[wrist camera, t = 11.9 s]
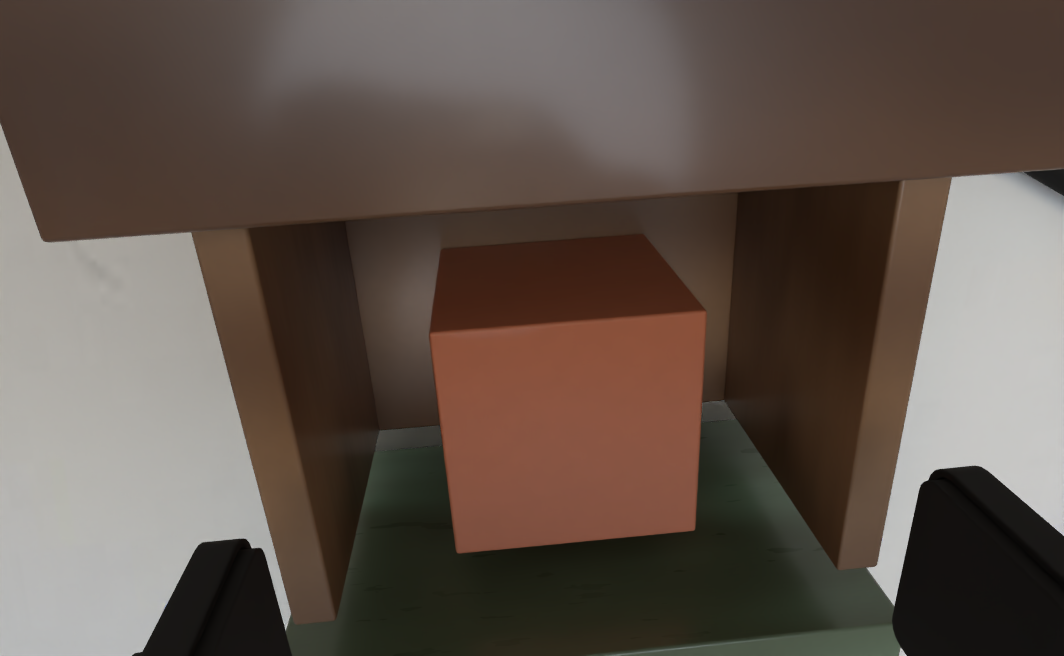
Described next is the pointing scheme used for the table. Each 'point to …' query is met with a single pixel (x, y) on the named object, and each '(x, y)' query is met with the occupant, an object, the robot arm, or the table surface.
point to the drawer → (601, 565)
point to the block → (567, 391)
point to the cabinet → (505, 103)
